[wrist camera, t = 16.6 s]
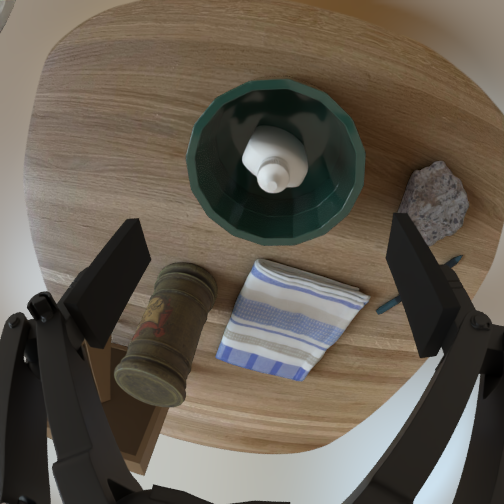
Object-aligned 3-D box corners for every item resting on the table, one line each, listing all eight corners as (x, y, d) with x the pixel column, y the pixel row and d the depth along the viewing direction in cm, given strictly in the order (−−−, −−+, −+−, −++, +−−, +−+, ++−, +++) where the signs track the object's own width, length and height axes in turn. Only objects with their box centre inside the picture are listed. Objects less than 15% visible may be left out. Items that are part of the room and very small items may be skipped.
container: (227, 278, 43) (197, 391, 28) (204, 315, 48) (175, 416, 33) (168, 250, 41) (114, 355, 27) (152, 291, 46) (107, 387, 31)
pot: (203, 82, 28) (174, 89, 21) (345, 76, 26) (366, 80, 19) (219, 204, 36) (201, 246, 29) (343, 202, 35) (357, 245, 27)
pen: (462, 255, 36) (465, 259, 35) (378, 311, 44) (379, 317, 43) (459, 250, 36) (463, 255, 35) (374, 308, 43) (376, 313, 42)
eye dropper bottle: (276, 174, 33) (270, 229, 23) (244, 134, 31) (222, 172, 21) (309, 153, 31) (320, 200, 21) (278, 111, 29) (273, 136, 19)
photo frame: (182, 370, 58) (151, 482, 38) (91, 347, 59) (46, 441, 39) (176, 323, 50) (129, 461, 29) (71, 299, 51) (7, 405, 30)
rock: (387, 231, 36) (396, 249, 32) (413, 150, 30) (427, 161, 26) (442, 242, 36) (454, 260, 32) (471, 170, 29) (487, 182, 26)
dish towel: (372, 288, 41) (375, 302, 39) (302, 374, 55) (302, 386, 52) (257, 249, 40) (254, 262, 37) (214, 350, 53) (211, 363, 51)
